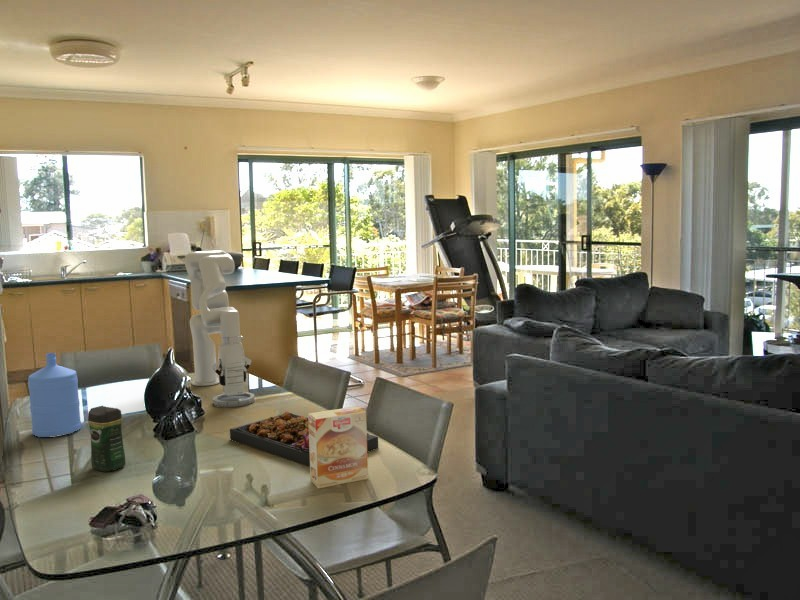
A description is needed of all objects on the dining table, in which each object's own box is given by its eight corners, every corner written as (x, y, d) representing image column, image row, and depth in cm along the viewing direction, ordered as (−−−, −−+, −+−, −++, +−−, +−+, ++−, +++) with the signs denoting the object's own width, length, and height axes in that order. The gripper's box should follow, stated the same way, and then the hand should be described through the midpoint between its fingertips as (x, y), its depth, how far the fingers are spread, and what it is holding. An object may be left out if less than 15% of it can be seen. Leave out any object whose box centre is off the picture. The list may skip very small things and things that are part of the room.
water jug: (89, 430, 251) (82, 352, 247) (42, 441, 239) (35, 360, 236) (70, 422, 261) (64, 348, 258) (25, 432, 250) (18, 355, 247)
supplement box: (222, 392, 286) (220, 361, 285) (240, 390, 289) (239, 359, 288) (226, 396, 279) (224, 365, 278) (245, 394, 283) (243, 363, 281)
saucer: (206, 402, 286) (206, 397, 285) (242, 395, 296) (242, 389, 296) (225, 409, 274) (224, 404, 273) (261, 402, 284) (261, 396, 284)
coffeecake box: (318, 489, 191) (315, 419, 189) (309, 480, 198) (306, 412, 195) (369, 479, 198) (367, 411, 195) (359, 471, 204) (357, 405, 202)
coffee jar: (130, 466, 213) (126, 406, 211) (107, 474, 207) (102, 412, 204) (110, 460, 218) (106, 402, 216) (87, 468, 212) (82, 408, 210)
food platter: (378, 450, 224) (377, 418, 222) (319, 472, 206) (317, 437, 204) (288, 424, 254) (287, 396, 253) (230, 441, 236) (228, 411, 235)
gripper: (245, 336, 290) (248, 378, 292) (206, 342, 279) (208, 385, 281) (254, 338, 285) (257, 381, 287) (214, 344, 273) (217, 388, 275)
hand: (233, 383), depth 284 cm, fingers closed on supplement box, 8 cm apart
